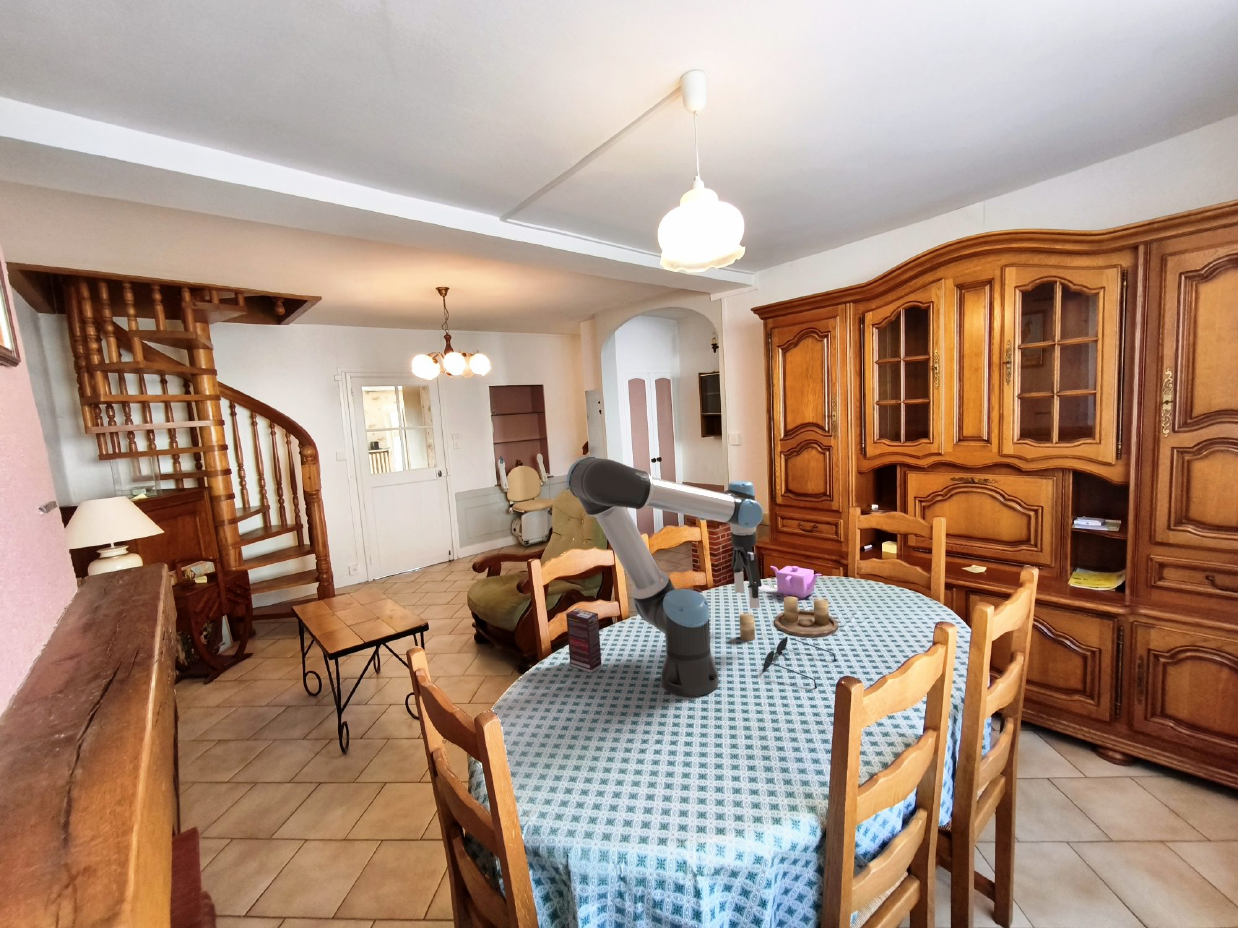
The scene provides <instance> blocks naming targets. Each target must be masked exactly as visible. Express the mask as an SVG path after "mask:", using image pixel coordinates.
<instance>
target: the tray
mask: <svg viewBox="0 0 1238 928" xmlns="http://www.w3.org/2000/svg"><path fill="white" fill-rule="evenodd" d="M774 626H775V627H776V628H777V629H778V630H779V631H782V632H784V633H786V634H788V635H792V636H796V637H802V638H803V637H804V638H821V637H827V636H830V635H832V634H835V633H836V632H837V631H838V630H839V623H838V620H837V619H836V618H834V617H833V616H832V615H830V614H829V624H828V625H817V624H815V623H814V610H811V609H809V610H806V609H798V621H797V622H787V621H785V620H784V611H783V612H781V613H778V614H777V615H776V616H775V617H774Z"/></svg>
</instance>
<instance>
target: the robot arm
mask: <svg viewBox="0 0 1238 928" xmlns="http://www.w3.org/2000/svg"><path fill="white" fill-rule="evenodd" d="M566 486H567V488H568V490H569V492H570V493H571V494H572V496H574V498H577V499H578V501H579V502H580V504H581V506H582V507H583V509H584V511H585V514H587V516H591V517H593V518H595V519H596V521H597V523H598V524H599V527H600V528H601V530H602V532H603V534H604V535H605V537H606V539H607V541H608V542H609V545H610V547H611V549H612V550H613V552H614V553H615V555H616V557H617V559H618V561H619V563H620V565H621V566H622V568H623V569H624V572H625V574H626V575H627V577H628V579H629V581H630V583H631V585H632V588H631V590H630V591H631V592H630V593H631V596H632V597H633V606H634V608H635V610H636V612H637V614H638V616H640V618H642V620H643V621H645V622H646V623H648V624H650V625H652V626H653V627H654V628H656V629H657V630H658V631H660V632H662V633H663V634H664V636H665V637H664V638H665V652H666V653H665V657H664V661H663V665H662V668H661V673H660V679H661V680H660V681H661V686H662V687H663V688H664V689H665V690H666V691H667V692H669V693H671V694H674V695H677V696H682V697H700V696H704V695H707V694H710V693H712V692H714V691H715V690H716V689H717V688H718V686H719V683H720V681H719V680H720V679H719V678H720V677H719V671H718V669H717V666H716V662H715V661H714V658H713V656H712V650H711V629H710V625H711V624H710V616H711V614H710V607H709V604H708V603H709V602H708V599H707V598H706V597H705V596H704V595H703V594H702V593H700V592H699V591H696V590H693V589H692V590H690V589H688V588H678V589H677V588H675V586H674V584H673V582H672V580H671V578H670V576H669V574H668V573H667V572H665V571H661V570H660V569H659V566H658V565H657V563H656V560H655V559H654V557H653V555H652V554H651V552H650V549H649V548H648V546H647V544H646V542H645V540H644V538H643V537H642V534H641V533H640V530H639V529H638V527H637V525H636V523H635V521H634V519H633V518H632V515H631V514H630V511H629V510H628V509H635V510H641V509H643V508H644V507H646V508H649V509H650V508H651V509H656V510H662V511H665V512H672V513H676V514H681V515H684V516H691V517H696V518H697V519H698V520H700V521H716V522H721V523H726V524H729V525H730V529H729V530H730V532H731V534H730V538H731V539H730V540H731V542H730V543H731V545H732V546H733V552H732V559H731V565H730V566H731V569H732V570H733V572H734V573H733V577H734V593H735V594H738V593H739V594H740V593H745V583H744V582H745V580H744V579H745V578H744V571H746V576H747V579H748V585H747V588H748V597H749V599H748V600H749V609H759V608H760V591H759V590H760V588H761V587H762V585H763V584H762V579H761V574H760V570H759V567H758V566H759V565H758V560H757V553H756V552H754V551H752V547H755V546H756V545H757V544H758V543H757V533H756V530H757V526H759V525H760V523H761V522H762V520H763V517H764V510H763V507H762V504H760V503H759V502H758V501H756V493H755V488H754V484H753V482H751V481H748V480H736V481H731V482H729V483H728V488H727V490H724V491H714V490H709V489H705V488H700V487H696V486H691V485H688V484H683V483H679V482H675V481H671V480H667V479H661V478H659V477H658V478H657V477H653V476H651V474H650V473H649V472H647V471H646V470H645V471H644V470H641V469H637V468H634V467H632V466H628V465H626V464H624V463H621V462H620V461H619V462H618V461H616V460H614V459H609V458H602V457H601V458H600V457H597V456H593V455H591V456H585V457H582V458H579V459H577V460H576V461H574V463H572V464H571V465H570V467H569V469H568V472H567V475H566ZM744 568H745V569H744Z"/></svg>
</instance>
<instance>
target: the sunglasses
mask: <svg viewBox="0 0 1238 928" xmlns="http://www.w3.org/2000/svg"><path fill="white" fill-rule="evenodd" d="M788 639H791V640H793V641H795V642H798V643H801V644H804V645H807V646H810V647H813V648H815V649H819V650H821V651H824V652H827V653H830V654H832V655H833V661H834V662H837V659H836V658H837V657H836V654H835V653H834V652H832V651H831V650H827V649H824V648H821V647H819V646H816V645H813V644H811V643H807V642H804V641H800V640H799V639H794V638H791V637H788V636H785V637H784V638H782V639H780V641H779V643H778V644H777V647H776V650H773V649H772V650H770V651H769V652H768V653H767V654H766V656H765V659H764V663H763V667H762V671H763V672H766V671H767V670H768V668H770V667H771V665H774V666H777V667H779V668H781V669H784V670H787V671H789V672H792V673H795V674H796V675H800V676H802V677H805V678H807V679H810V680H812V681H813V686H814V689H818V686H817V682H816V680H815V678H813V677H810V676H808V675H805V674H803V673H801V672H797V671H795V670H793V669H791V668H787V667H785V666H782V665H779V664H777V663H773V662H774V661H773V660H776V659H777V658H778V657H780V656H781V655H782V654H783V651H784V650H785V649H786V647H787V645H788Z"/></svg>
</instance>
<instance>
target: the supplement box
mask: <svg viewBox="0 0 1238 928" xmlns="http://www.w3.org/2000/svg"><path fill="white" fill-rule="evenodd" d="M565 615H566V626H567V628H566V629H567V640H568V641H567V642H568V654H569V655H568V656H569V665H570V667H573V668H576V669H579V670H582V671H585V672H588V673H590V674H592V673H594V672H595V671H597V670H599V669H600V668H601V667H602V666H603V664H602V651H601V638H600V626H599V625H600V624H599V613H598V612H593V611H588V610H585V609H581V608H574V609H572V610H570V611H568V612H566V613H565Z"/></svg>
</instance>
